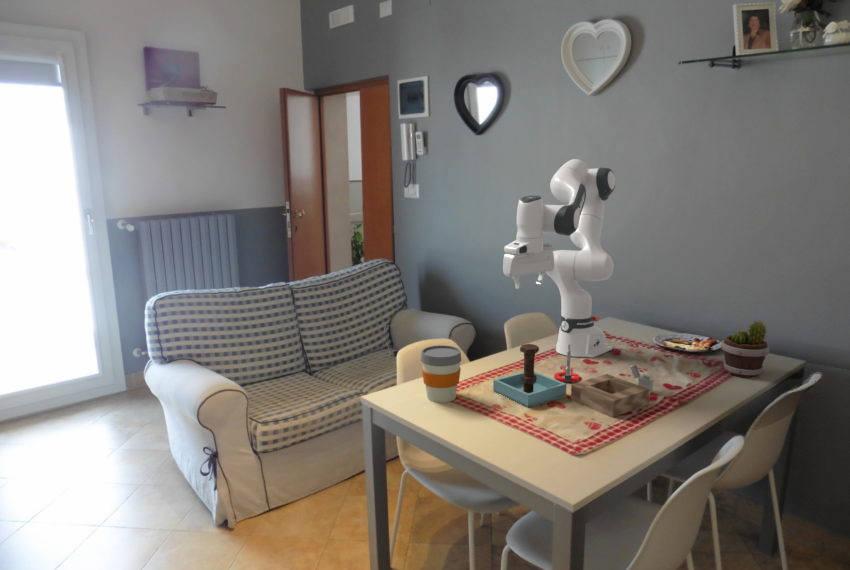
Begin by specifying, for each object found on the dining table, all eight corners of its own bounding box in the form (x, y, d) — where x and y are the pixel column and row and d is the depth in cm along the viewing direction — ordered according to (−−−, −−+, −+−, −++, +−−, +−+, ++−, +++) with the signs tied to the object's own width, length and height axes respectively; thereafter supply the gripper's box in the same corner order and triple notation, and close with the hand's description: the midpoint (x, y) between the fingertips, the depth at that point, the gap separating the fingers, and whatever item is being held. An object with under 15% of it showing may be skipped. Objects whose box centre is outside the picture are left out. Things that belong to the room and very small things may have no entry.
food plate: (732, 346, 237) (733, 337, 236) (708, 360, 221) (708, 351, 221) (670, 335, 255) (670, 327, 254) (643, 348, 239) (643, 339, 238)
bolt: (540, 393, 190) (542, 347, 186) (527, 396, 187) (529, 350, 184) (528, 387, 195) (530, 342, 191) (516, 390, 192) (517, 345, 189)
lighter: (652, 392, 192) (654, 367, 190) (650, 393, 191) (651, 369, 189) (630, 386, 196) (632, 363, 195) (628, 388, 195) (629, 364, 194)
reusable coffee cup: (468, 393, 192) (468, 348, 189) (449, 407, 182) (449, 359, 179) (434, 387, 199) (433, 343, 196) (413, 400, 188) (413, 353, 185)
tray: (530, 381, 202) (530, 369, 202) (565, 396, 189) (566, 384, 189) (493, 391, 194) (493, 379, 193) (527, 407, 181) (528, 395, 180)
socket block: (606, 388, 195) (606, 374, 194) (648, 404, 182) (649, 388, 181) (570, 399, 186) (571, 384, 185) (612, 417, 173) (613, 401, 172)
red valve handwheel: (553, 374, 210) (555, 382, 201) (554, 338, 208) (556, 344, 199) (578, 375, 209) (581, 384, 200) (579, 339, 207) (582, 345, 198)
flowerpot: (711, 373, 207) (716, 317, 203) (728, 363, 218) (733, 308, 214) (758, 384, 197) (764, 324, 193) (773, 372, 207) (779, 315, 203)
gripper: (545, 241, 209) (544, 281, 211) (500, 247, 198) (499, 289, 200) (559, 243, 203) (558, 284, 206) (513, 249, 192) (512, 292, 195)
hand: (529, 286), depth 203 cm, fingers open, 8 cm apart
